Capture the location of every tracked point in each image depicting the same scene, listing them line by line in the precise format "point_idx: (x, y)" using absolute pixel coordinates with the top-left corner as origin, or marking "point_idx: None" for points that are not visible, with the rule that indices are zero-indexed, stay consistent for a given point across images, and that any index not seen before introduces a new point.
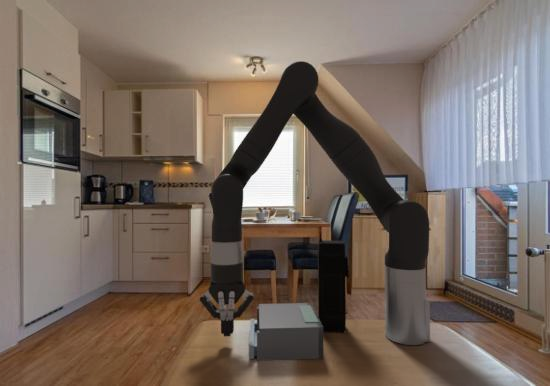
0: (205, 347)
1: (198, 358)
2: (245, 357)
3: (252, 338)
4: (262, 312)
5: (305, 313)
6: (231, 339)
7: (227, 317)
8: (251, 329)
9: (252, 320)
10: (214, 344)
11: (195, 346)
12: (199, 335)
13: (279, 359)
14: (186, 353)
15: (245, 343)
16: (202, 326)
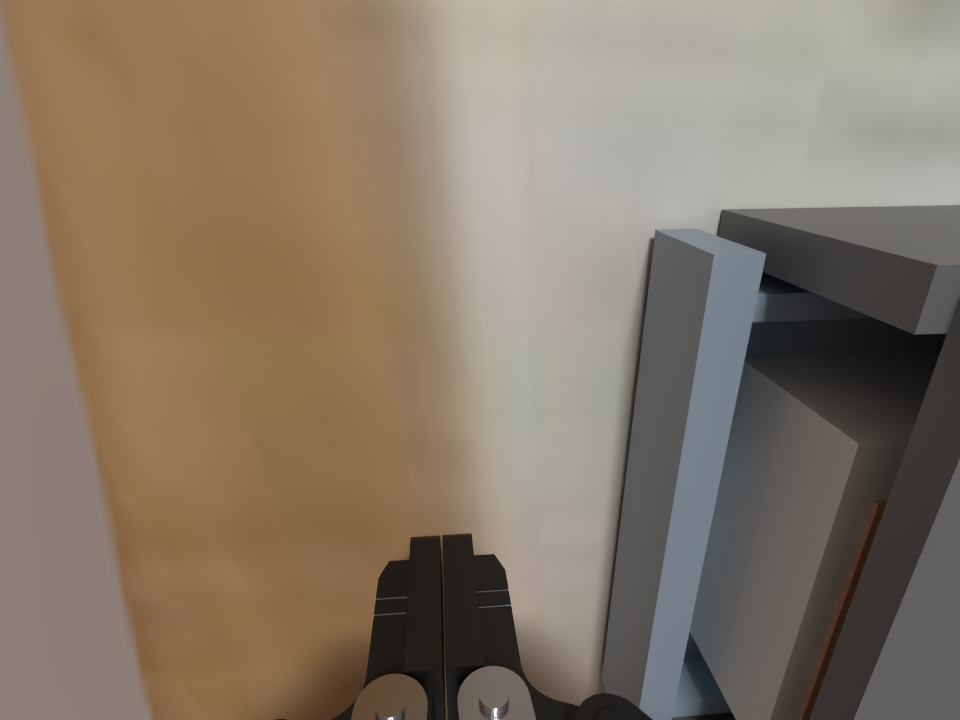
0: (272, 546)
1: (275, 670)
2: (578, 650)
3: (664, 687)
4: (927, 640)
5: None
6: (464, 418)
7: (440, 670)
8: (679, 546)
9: (728, 314)
10: (332, 502)
11: (181, 533)
12: (116, 328)
13: None
14: (159, 623)
15: (585, 485)
16: (23, 47)
